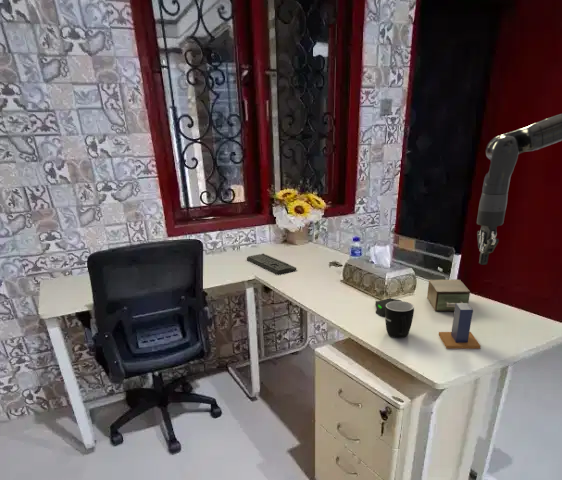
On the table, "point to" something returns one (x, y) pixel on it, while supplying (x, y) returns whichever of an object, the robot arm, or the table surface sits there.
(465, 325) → the card box
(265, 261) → the keyboard
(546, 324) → the table surface
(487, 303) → the table surface
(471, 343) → the cork pad
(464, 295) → the drawer
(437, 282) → the cabinet
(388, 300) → the black electronic device
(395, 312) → the mug
